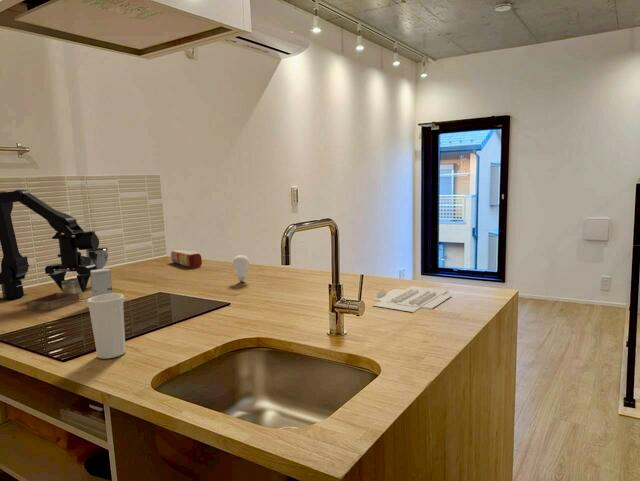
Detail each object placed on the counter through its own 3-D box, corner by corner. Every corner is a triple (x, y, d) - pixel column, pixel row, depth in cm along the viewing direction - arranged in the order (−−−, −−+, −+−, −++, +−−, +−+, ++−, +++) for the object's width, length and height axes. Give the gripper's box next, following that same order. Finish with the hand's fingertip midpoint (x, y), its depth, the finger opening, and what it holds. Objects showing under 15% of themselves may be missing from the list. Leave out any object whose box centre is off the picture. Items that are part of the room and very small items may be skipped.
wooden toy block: (63, 297, 167) (61, 281, 166) (73, 293, 171) (72, 278, 171) (74, 297, 165) (72, 281, 164) (85, 294, 170) (83, 278, 169)
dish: (67, 287, 182) (66, 282, 182) (80, 283, 189) (79, 278, 188) (81, 288, 180) (80, 282, 180) (94, 283, 187) (93, 278, 186)
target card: (69, 300, 161) (69, 299, 161) (88, 294, 170) (87, 293, 170) (82, 301, 160) (82, 300, 159) (101, 294, 168) (101, 293, 168)
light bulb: (247, 284, 176) (245, 256, 174) (231, 284, 177) (229, 256, 175) (252, 280, 182) (251, 253, 180) (237, 280, 183) (235, 253, 182)
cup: (96, 364, 103) (89, 304, 101) (90, 354, 110) (83, 297, 108) (133, 355, 108) (127, 297, 106) (125, 345, 114) (119, 291, 112)
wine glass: (85, 287, 180) (81, 250, 178) (100, 282, 188) (96, 247, 186) (101, 288, 178) (96, 251, 176) (116, 283, 185) (112, 247, 183)
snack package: (170, 263, 228) (169, 249, 227) (183, 261, 232) (182, 247, 231) (189, 269, 211) (188, 254, 210) (203, 266, 215) (202, 252, 214)
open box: (27, 309, 152) (26, 302, 151) (56, 299, 163) (55, 292, 163) (51, 310, 149) (50, 303, 149) (79, 300, 161) (78, 293, 160)
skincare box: (94, 307, 151) (90, 272, 149) (92, 304, 154) (89, 270, 153) (114, 304, 154) (110, 269, 152) (112, 301, 158) (108, 267, 156)
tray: (458, 294, 152) (458, 283, 152) (424, 320, 130) (423, 308, 130) (402, 287, 164) (402, 277, 164) (363, 310, 142) (362, 298, 142)
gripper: (105, 247, 171) (109, 287, 173) (65, 246, 176) (70, 285, 178) (83, 252, 160) (88, 294, 163) (41, 251, 165) (46, 292, 168)
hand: (73, 291), depth 168 cm, fingers open, 9 cm apart
